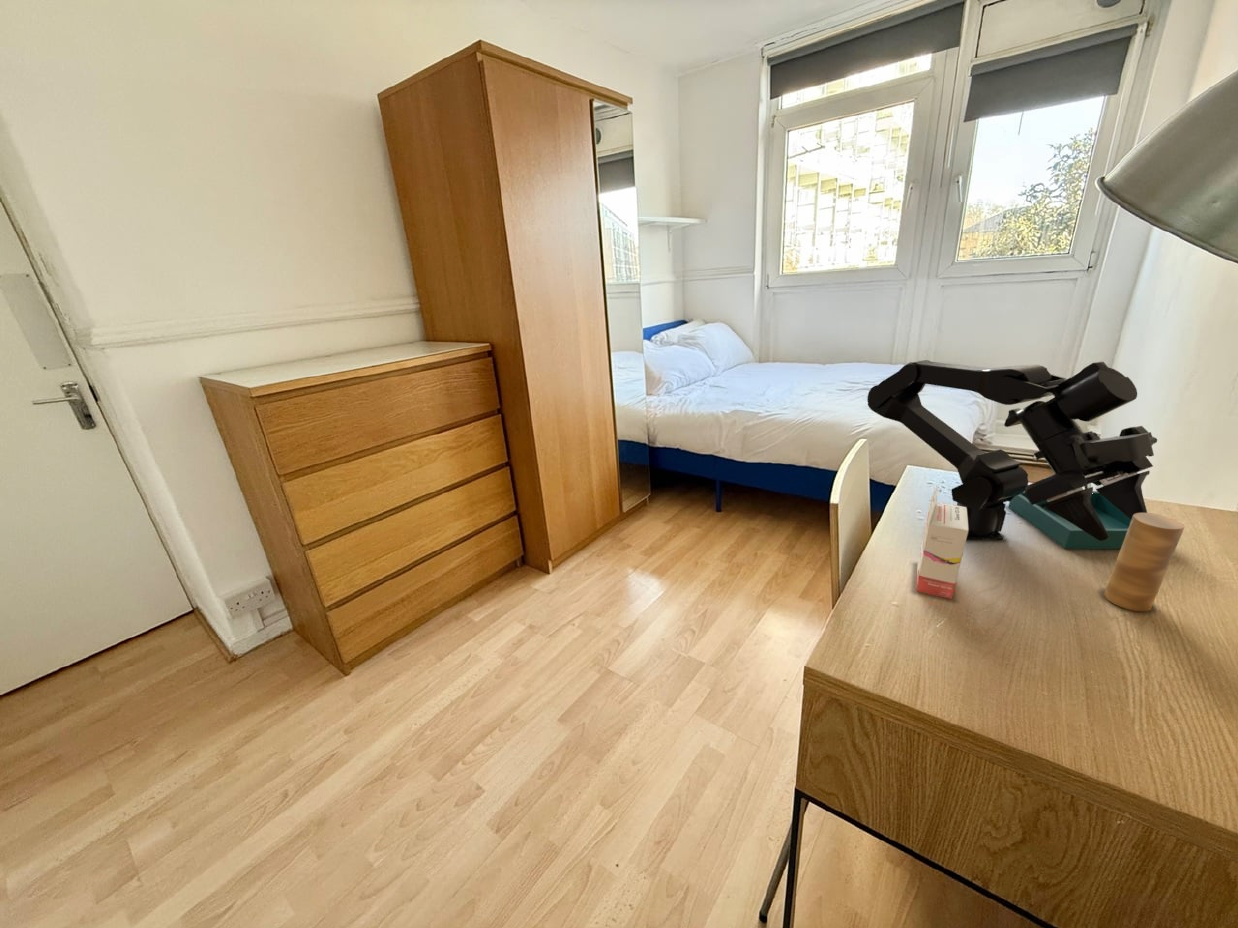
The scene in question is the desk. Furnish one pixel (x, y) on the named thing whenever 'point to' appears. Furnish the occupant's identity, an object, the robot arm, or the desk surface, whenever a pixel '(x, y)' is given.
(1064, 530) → the teal serving tray
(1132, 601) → the wood cylinder
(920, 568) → the ink cartridge box
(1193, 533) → the desk surface
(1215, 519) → the desk surface
